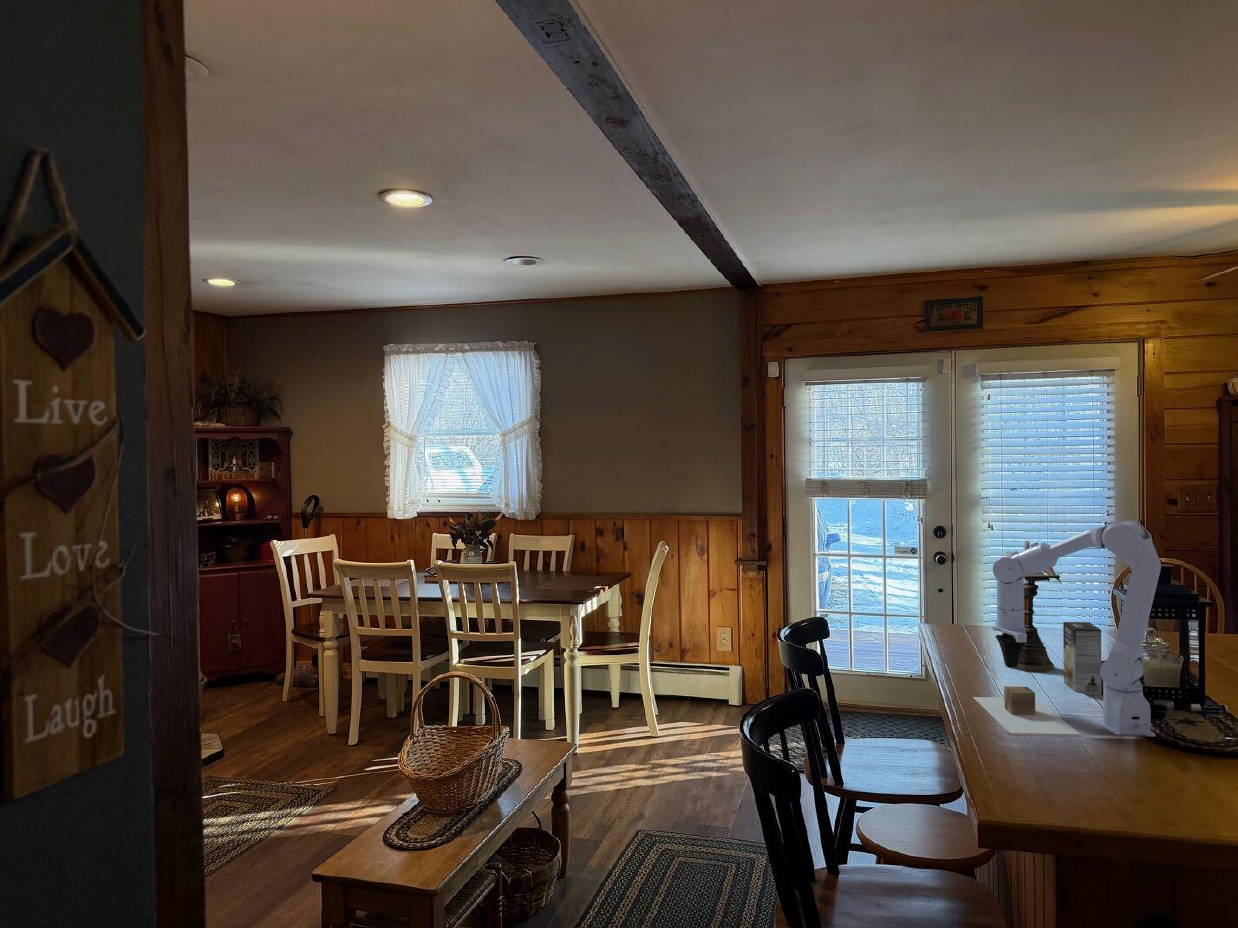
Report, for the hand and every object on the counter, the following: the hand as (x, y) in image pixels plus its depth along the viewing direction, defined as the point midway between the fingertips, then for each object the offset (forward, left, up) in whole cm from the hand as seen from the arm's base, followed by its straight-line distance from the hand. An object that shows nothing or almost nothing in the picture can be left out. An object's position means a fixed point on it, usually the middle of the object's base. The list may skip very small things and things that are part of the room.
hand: (1011, 666), depth 197 cm
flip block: (-3, 0, -6) cm, 7 cm away
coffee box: (+16, -22, -10) cm, 29 cm away
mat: (-7, 0, -9) cm, 12 cm away
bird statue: (+36, -18, -10) cm, 41 cm away
